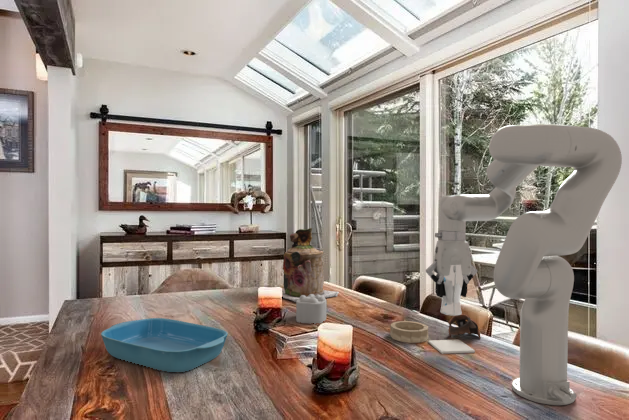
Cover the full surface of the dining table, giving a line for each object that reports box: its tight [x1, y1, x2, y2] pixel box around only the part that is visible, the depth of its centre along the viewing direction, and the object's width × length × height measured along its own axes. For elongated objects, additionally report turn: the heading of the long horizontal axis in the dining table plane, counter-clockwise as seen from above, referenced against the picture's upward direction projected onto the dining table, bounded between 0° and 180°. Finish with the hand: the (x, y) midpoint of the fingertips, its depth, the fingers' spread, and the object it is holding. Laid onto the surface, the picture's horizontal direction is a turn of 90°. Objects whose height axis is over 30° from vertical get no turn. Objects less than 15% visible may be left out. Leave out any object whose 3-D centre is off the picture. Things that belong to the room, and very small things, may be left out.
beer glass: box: [439, 265, 464, 317], centre depth 127 cm, size 7×7×15 cm
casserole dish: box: [100, 317, 229, 373], centre depth 118 cm, size 37×22×7 cm, turn 63°
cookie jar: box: [281, 227, 340, 303], centre depth 198 cm, size 25×25×32 cm
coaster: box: [427, 339, 476, 355], centre depth 127 cm, size 10×10×1 cm
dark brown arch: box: [447, 313, 481, 339], centre depth 139 cm, size 12×10×8 cm
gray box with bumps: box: [295, 294, 328, 325], centre depth 158 cm, size 10×13×9 cm
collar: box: [389, 320, 429, 344], centre depth 137 cm, size 12×12×4 cm
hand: (451, 295), depth 127 cm, fingers closed on beer glass, 6 cm apart
